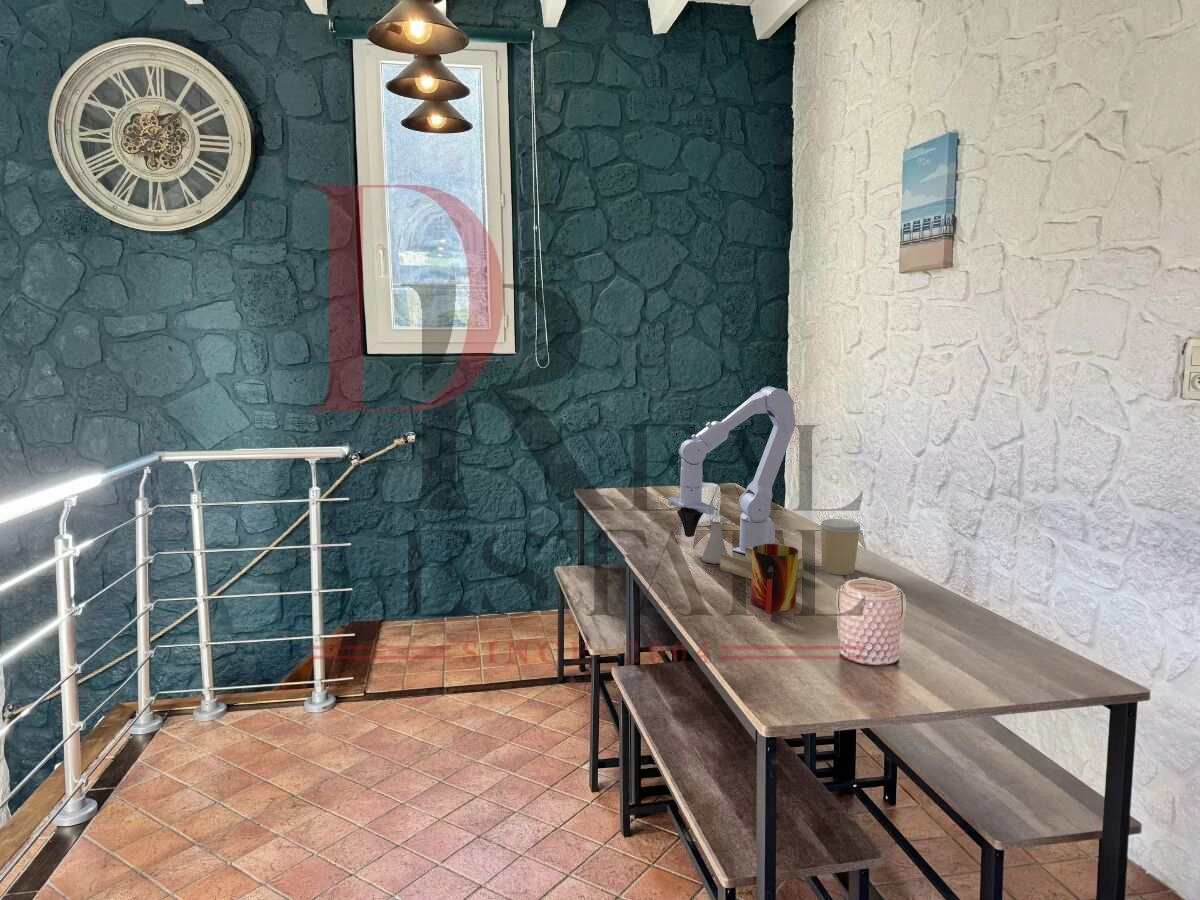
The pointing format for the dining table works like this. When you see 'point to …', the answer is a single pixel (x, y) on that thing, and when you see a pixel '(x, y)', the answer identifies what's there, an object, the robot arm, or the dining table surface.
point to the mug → (774, 577)
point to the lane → (748, 564)
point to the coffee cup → (839, 545)
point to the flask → (714, 544)
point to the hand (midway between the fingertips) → (689, 536)
